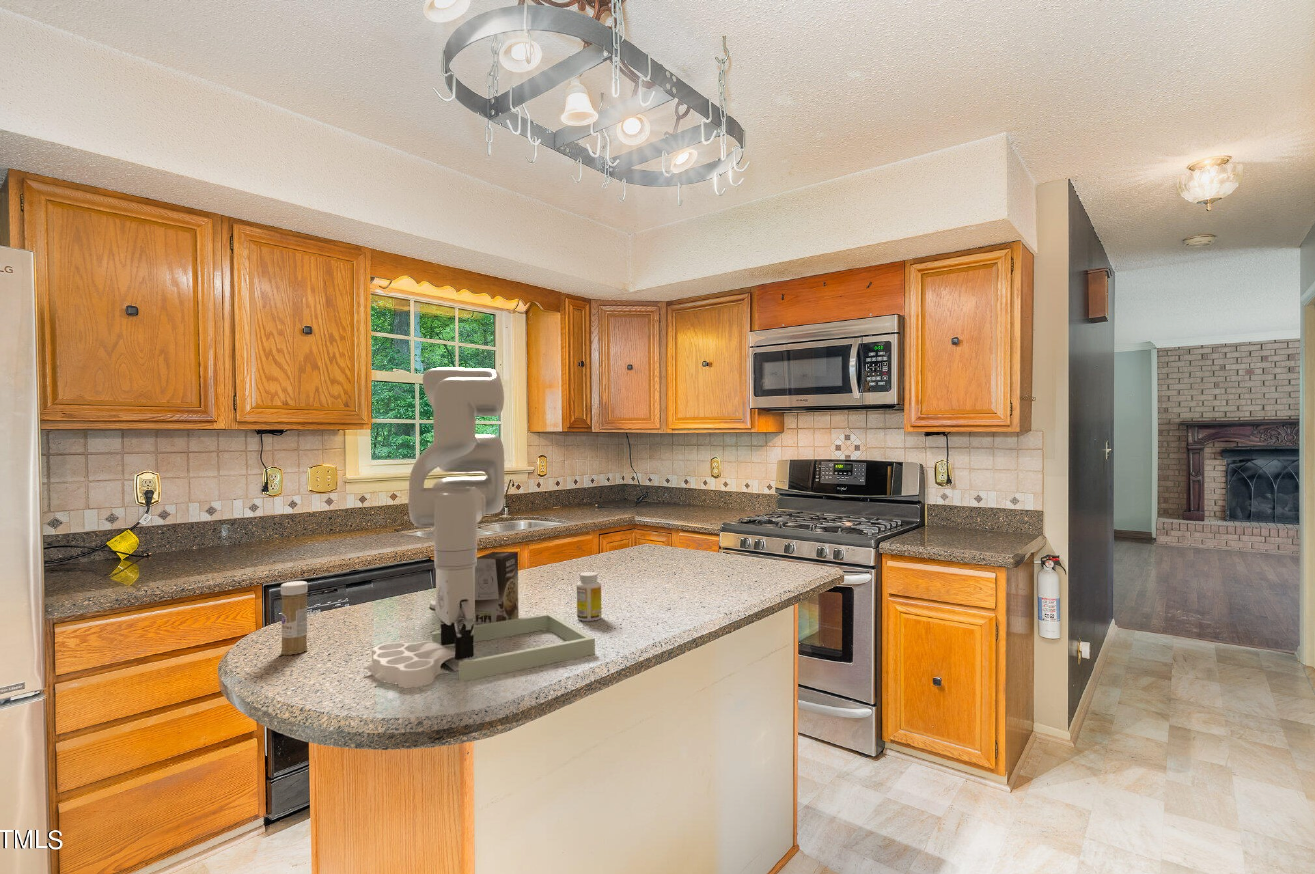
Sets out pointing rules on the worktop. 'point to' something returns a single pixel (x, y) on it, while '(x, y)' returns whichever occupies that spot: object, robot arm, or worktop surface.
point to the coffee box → (496, 587)
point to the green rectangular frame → (517, 660)
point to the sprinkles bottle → (294, 617)
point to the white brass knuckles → (410, 662)
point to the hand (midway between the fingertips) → (456, 650)
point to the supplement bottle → (588, 597)
